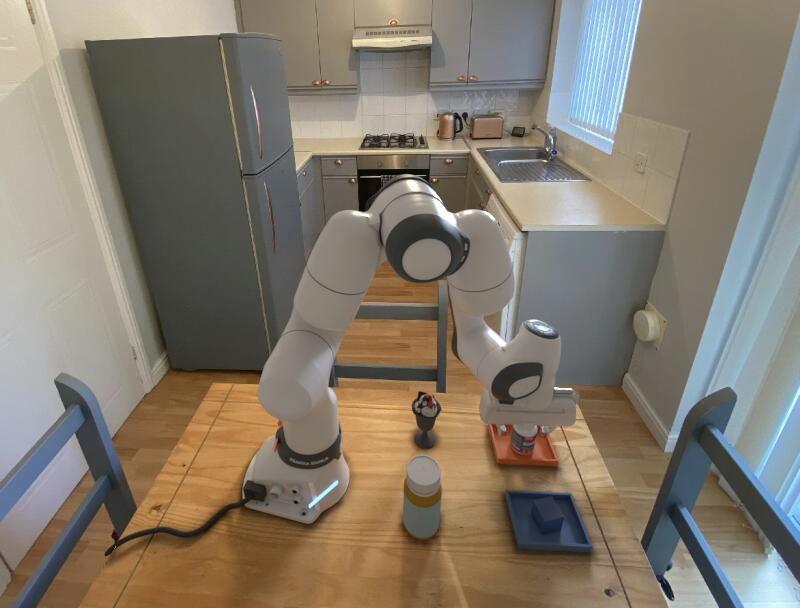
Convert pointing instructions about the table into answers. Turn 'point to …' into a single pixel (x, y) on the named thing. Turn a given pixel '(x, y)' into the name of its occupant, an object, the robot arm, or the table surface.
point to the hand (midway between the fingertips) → (522, 434)
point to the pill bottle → (523, 438)
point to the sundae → (425, 418)
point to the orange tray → (507, 455)
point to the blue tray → (529, 533)
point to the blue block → (547, 515)
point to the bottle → (422, 497)
